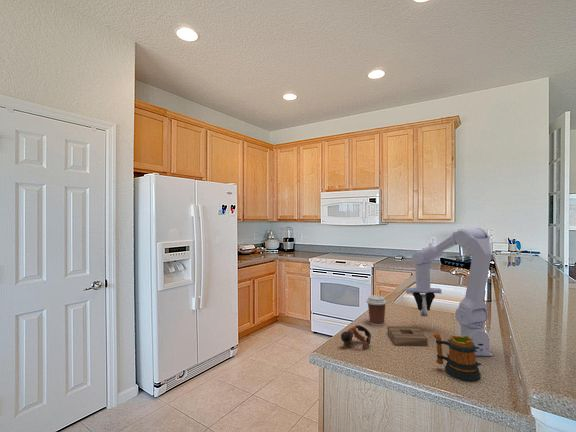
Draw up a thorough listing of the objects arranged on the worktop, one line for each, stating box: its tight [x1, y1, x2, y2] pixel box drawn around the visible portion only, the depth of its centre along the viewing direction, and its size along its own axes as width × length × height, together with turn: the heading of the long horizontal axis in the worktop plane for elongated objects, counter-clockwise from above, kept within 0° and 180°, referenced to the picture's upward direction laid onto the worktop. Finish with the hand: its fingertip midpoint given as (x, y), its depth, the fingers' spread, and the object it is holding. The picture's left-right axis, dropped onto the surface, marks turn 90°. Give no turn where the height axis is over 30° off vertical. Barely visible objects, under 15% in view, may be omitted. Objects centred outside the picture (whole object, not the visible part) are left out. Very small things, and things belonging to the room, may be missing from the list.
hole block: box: [387, 325, 429, 347], centre depth 117 cm, size 12×12×3 cm
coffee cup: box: [366, 294, 388, 326], centre depth 136 cm, size 9×9×12 cm
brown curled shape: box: [340, 324, 372, 350], centre depth 112 cm, size 12×10×8 cm
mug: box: [432, 332, 482, 383], centre depth 92 cm, size 13×10×12 cm
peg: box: [419, 293, 429, 318], centre depth 128 cm, size 3×3×9 cm
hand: (423, 309), depth 128 cm, fingers closed on peg, 3 cm apart
